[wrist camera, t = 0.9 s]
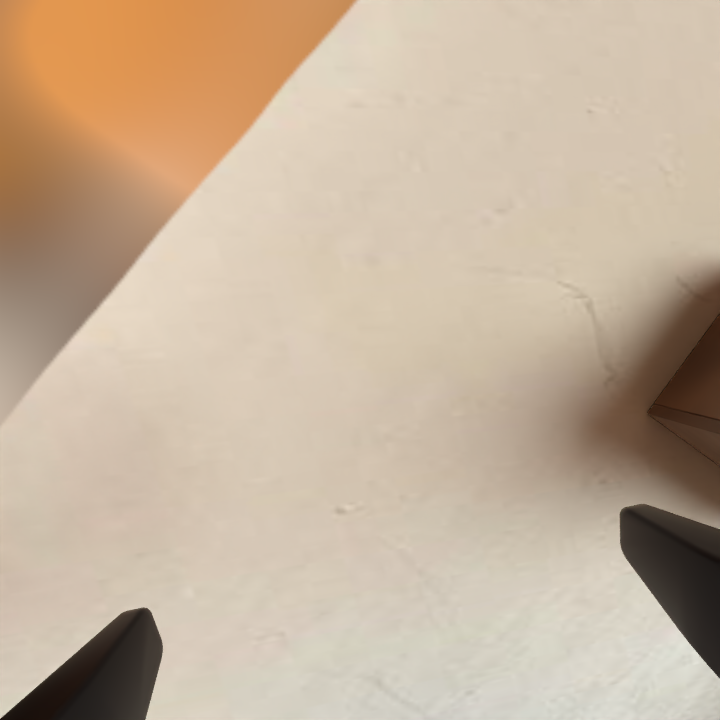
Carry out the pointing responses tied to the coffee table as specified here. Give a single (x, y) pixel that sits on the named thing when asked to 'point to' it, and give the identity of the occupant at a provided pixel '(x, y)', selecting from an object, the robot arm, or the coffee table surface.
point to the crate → (695, 397)
